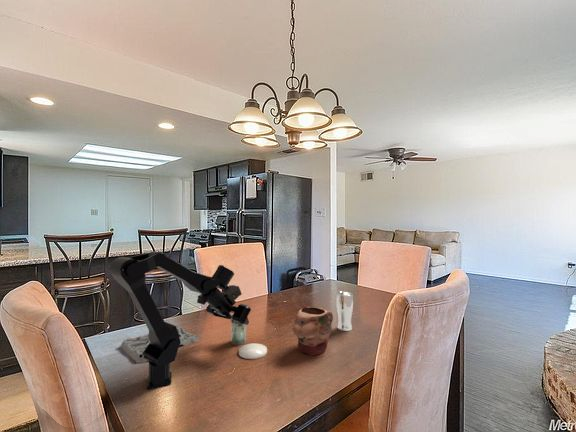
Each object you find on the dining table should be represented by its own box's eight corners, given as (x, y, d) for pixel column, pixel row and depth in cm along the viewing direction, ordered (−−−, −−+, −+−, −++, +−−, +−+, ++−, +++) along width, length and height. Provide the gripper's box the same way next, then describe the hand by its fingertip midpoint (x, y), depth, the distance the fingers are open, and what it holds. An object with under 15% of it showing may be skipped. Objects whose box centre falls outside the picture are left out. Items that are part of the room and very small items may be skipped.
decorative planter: (317, 334, 117) (317, 300, 116) (343, 343, 108) (343, 306, 108) (284, 351, 102) (284, 312, 102) (311, 363, 94) (311, 321, 94)
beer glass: (356, 328, 123) (356, 293, 123) (347, 333, 118) (347, 296, 118) (342, 323, 128) (342, 290, 128) (333, 328, 123) (333, 293, 122)
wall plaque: (139, 366, 93) (139, 354, 93) (118, 348, 106) (118, 337, 106) (203, 342, 110) (203, 332, 110) (179, 329, 123) (179, 320, 123)
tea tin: (247, 343, 108) (247, 317, 108) (232, 346, 106) (232, 319, 106) (244, 337, 113) (244, 312, 113) (229, 340, 111) (229, 314, 111)
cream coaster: (270, 355, 99) (270, 353, 99) (242, 361, 95) (242, 359, 95) (262, 343, 108) (262, 341, 108) (236, 348, 104) (236, 346, 104)
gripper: (247, 283, 100) (267, 306, 109) (212, 276, 111) (233, 298, 120) (230, 312, 94) (253, 334, 103) (195, 302, 105) (218, 322, 114)
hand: (239, 320), depth 110 cm, fingers open, 9 cm apart
